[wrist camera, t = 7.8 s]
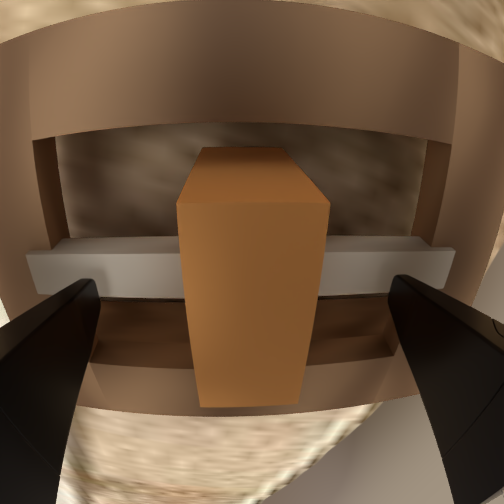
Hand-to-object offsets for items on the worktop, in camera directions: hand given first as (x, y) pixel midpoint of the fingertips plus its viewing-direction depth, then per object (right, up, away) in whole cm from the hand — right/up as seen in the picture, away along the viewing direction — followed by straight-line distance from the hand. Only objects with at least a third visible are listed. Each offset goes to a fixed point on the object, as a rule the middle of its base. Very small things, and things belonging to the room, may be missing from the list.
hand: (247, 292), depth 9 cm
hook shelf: (0, +4, +7) cm, 8 cm away
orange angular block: (0, +2, +4) cm, 5 cm away
